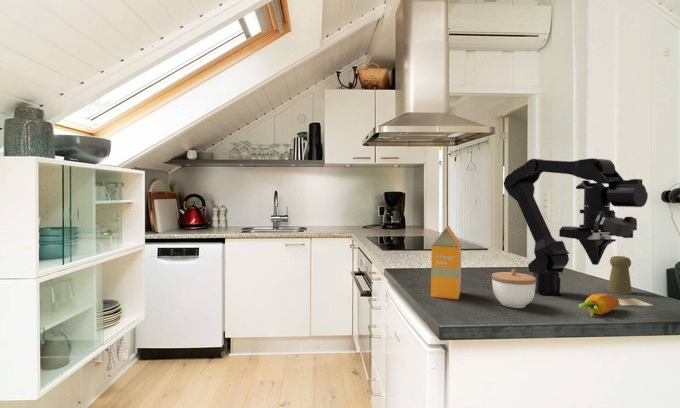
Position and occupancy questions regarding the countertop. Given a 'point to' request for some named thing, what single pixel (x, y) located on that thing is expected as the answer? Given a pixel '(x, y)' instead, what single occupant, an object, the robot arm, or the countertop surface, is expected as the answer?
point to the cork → (620, 275)
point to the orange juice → (446, 266)
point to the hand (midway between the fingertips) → (595, 264)
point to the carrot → (600, 303)
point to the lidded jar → (513, 288)
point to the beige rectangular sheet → (632, 302)
